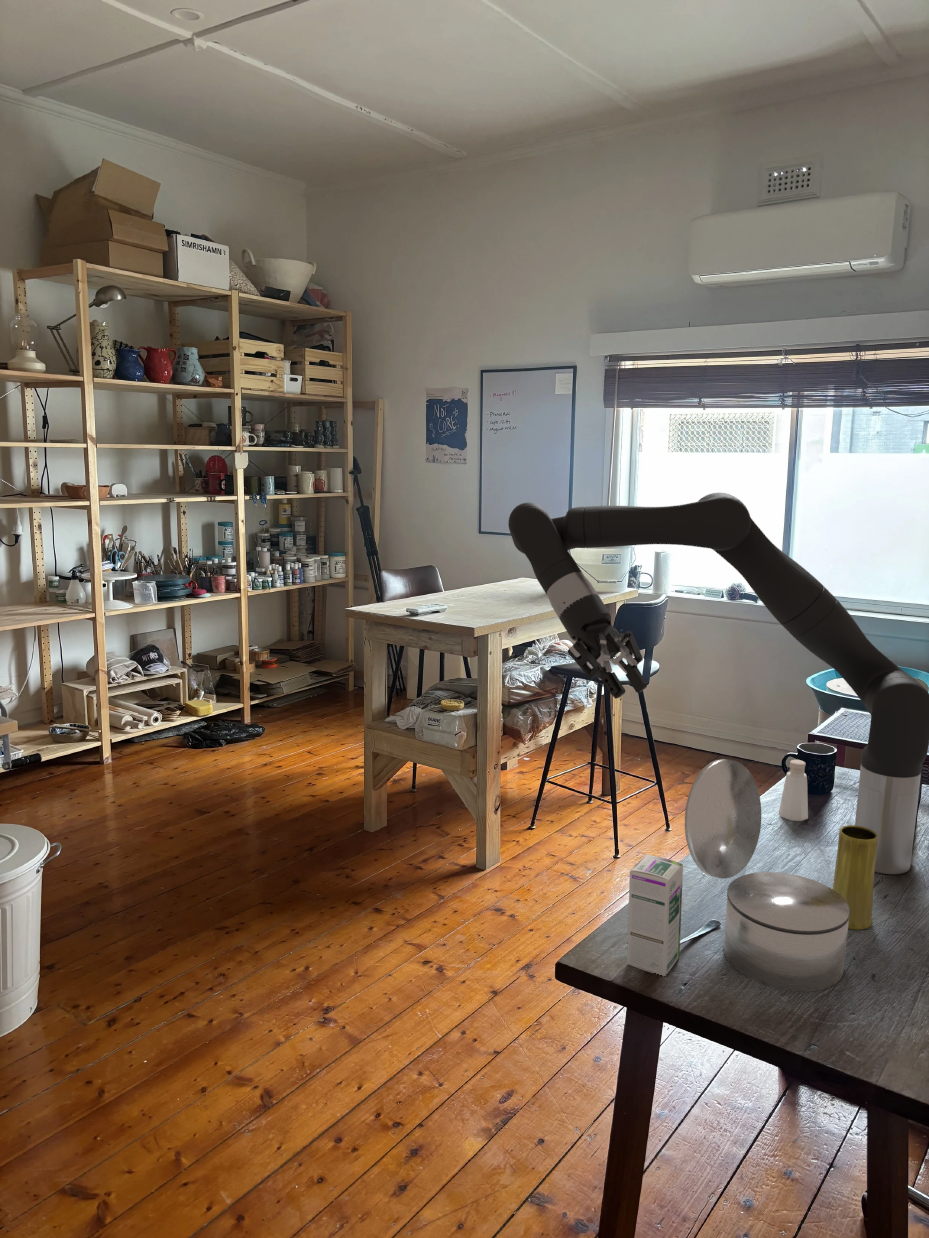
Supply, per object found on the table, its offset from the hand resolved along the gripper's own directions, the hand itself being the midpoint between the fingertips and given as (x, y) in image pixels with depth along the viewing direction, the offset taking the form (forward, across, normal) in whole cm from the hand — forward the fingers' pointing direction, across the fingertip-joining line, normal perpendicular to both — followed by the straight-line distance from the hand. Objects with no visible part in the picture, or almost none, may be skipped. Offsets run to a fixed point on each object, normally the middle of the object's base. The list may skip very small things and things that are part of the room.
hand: (631, 692), depth 143 cm
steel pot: (+43, 0, +2) cm, 43 cm away
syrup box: (+36, -15, +10) cm, 40 cm away
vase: (+44, +17, +2) cm, 47 cm away
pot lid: (+24, 0, -3) cm, 24 cm away
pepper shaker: (+26, +45, +20) cm, 56 cm away
